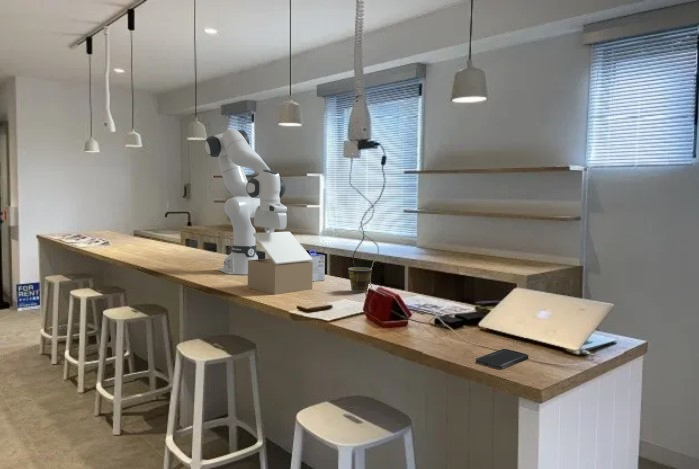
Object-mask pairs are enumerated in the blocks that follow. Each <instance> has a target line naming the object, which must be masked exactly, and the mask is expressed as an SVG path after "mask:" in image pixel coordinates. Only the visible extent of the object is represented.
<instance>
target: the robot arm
mask: <svg viewBox="0 0 699 469" xmlns="http://www.w3.org/2000/svg"><path fill="white" fill-rule="evenodd" d="M204 143H205V144H204V147H205V150H206V152H207V154H208V155H209V156H210V157H211V158H218V165H219V170H220V173H221V176H222V179H223V182H224V185H225V187H226V189H227V191H228V192H229V193H230V194H231V195H233V197H231V198H228V199H227V200H225V203H224V206H223V208H224V212H225V214H226V216H228V218H229V220H230V223H231V226H232V229H233V230H232V231H233V232H232V233H233V245H231V246H230V248H231V253H230V254H229V255H227V257H225V259H224V260H223V267H221V268H220V267H219V269H218V271H220V272H222V273H225V274H227V275H248V260H257V259H259V257H258V254H257V249H258V248H257V245H256V244H257V243H256V242H257V240H256V238H255V237H254V236H253V233H257V232H256V228H255V227H260V228H264V231H265V232H264V233H269V232H275V230H285V229H286V228H287V224H288V223H287V222H288V221H287V220H288V218H287V217H288V216H287V213H286V212H287V211H288V207H287V206H285V205H284V204H282V203H281V198H282V197H284V195H285V194H286V184H285V182H284V180H283V179H282V178H281V177H280V174H279V172H278V171H277V170H273V169H272V168H271V166H270V165H269V164H268V163H267V162H266V160H265V159H264V158H263V157H262V156H261V155H260V154H259V153H257V152H256V151H255V150H254V149H253V148H252V147H251V146H250V138H249V136H248V133H247V132H246V131H245V130H243V129H235V128H229V129H227V130H226V131H224V132H223V133H218V134H215V135H211V136H208V137H207V138H206V139H205V141H204ZM244 168H245V169H246V168H247V169H250V170H253V171H254V172H257V173H258V175H256V176H255V177H251V178H250V179H247V176H246V174H245V170H244ZM251 218H252V219H253V224H252V221H251ZM253 225H254V226H255V227H254V226H253Z"/></svg>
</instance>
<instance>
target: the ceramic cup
mask: <svg viewBox="0 0 699 469" xmlns="http://www.w3.org/2000/svg"><path fill="white" fill-rule="evenodd" d="M347 270H348V278H349V282H350V289H351V292H352V293H353V294H354V293H355V294H366V293H368V290H367V289H369V284H370V280H371V275H372V268H370V267H361V266H355V267H348V269H347Z"/></svg>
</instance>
